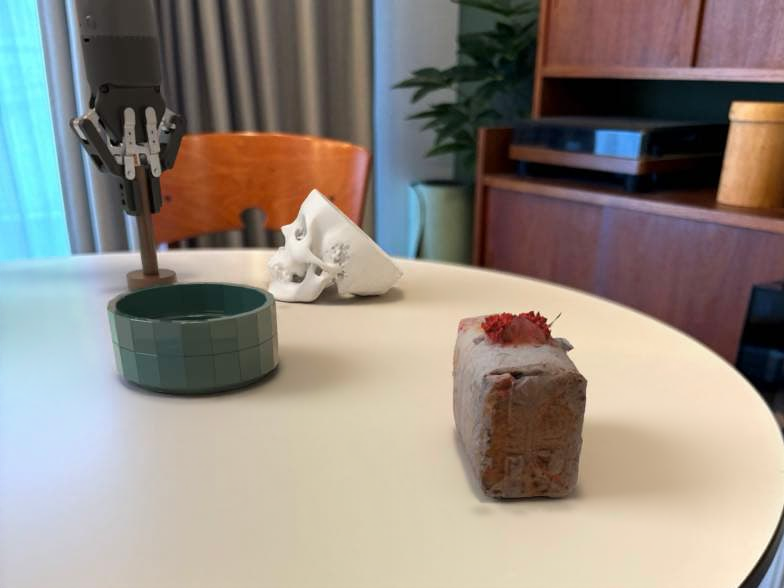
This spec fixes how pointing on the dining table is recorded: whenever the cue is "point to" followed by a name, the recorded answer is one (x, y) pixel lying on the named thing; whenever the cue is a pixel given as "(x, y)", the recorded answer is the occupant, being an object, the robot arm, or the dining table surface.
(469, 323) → the food item
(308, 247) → the skull bowl
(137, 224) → the brown masher
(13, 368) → the dining table surface
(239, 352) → the mixing bowl
